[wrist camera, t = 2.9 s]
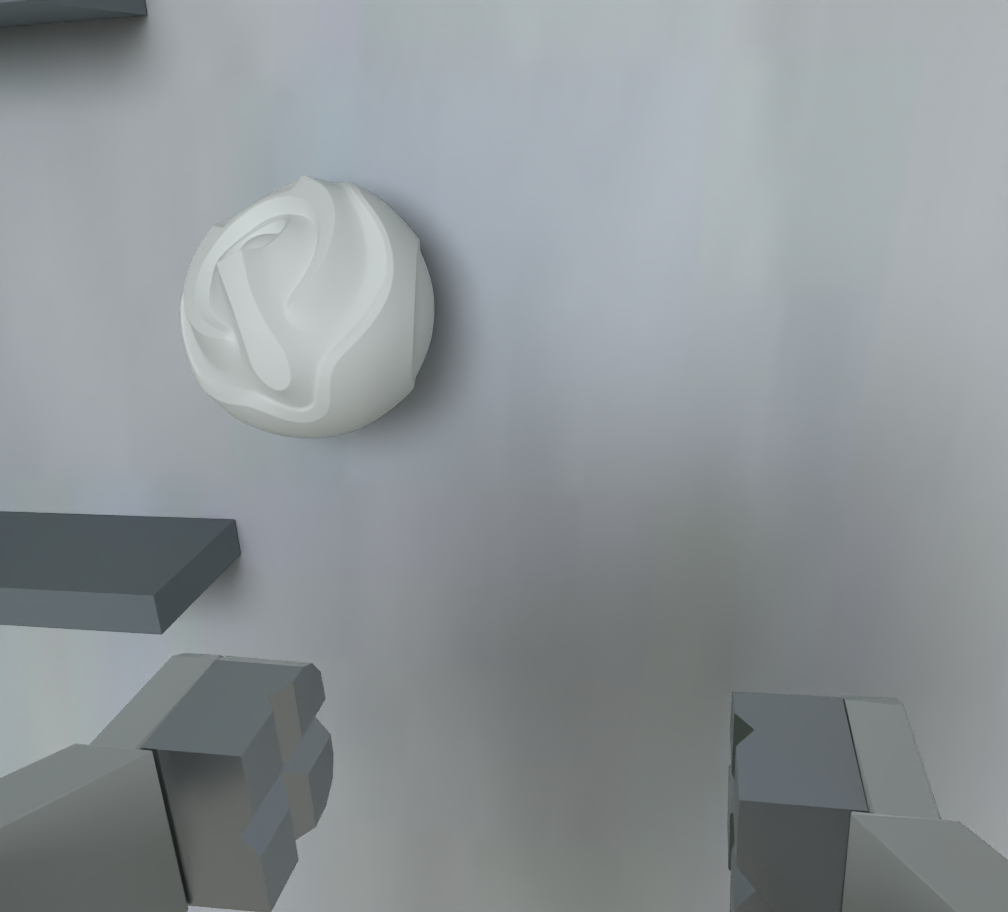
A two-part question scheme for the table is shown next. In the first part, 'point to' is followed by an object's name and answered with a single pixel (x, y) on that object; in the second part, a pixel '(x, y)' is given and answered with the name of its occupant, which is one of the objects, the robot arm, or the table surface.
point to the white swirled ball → (308, 310)
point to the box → (103, 538)
